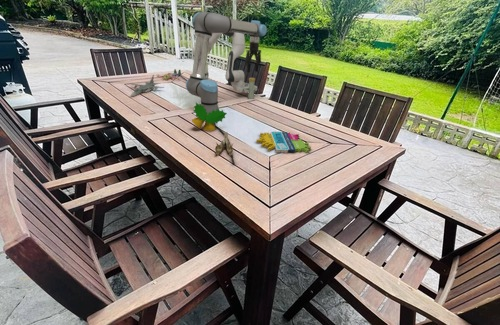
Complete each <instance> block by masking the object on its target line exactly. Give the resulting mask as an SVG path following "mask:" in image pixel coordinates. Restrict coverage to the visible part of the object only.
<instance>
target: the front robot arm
mask: <svg viewBox="0 0 500 325" xmlns="http://www.w3.org/2000/svg"><path fill="white" fill-rule="evenodd" d="M191 25H192V27H193V30H194V34H195V36H196V37H195V45H196V46H195V45H194V46H195V55H193V66H192V73H191V74H190V75H189V78H188V79H186V82H185V88H186V90H187V92H188V93H189V94H191V95H192V96H195V97H198V98H200V104H201V106H204V109H206V112H208V113H211V112H212V110H214V111H216V110H217V109H219V111H221V110H220V108H219V102H218V99H219V87H218V83H217V82H216V81H214V80H213V79H208V80H207V78H206V76H205V70H206V61H207V60H208V55H207V53H208V45H209V39H210V38H211V37H212V33H229V32H235V33H241V34H244V35H249V49H245V52H246V53H245V60H244V63H245V64H246V68H247V70H246V71H247V73H251V61H252V58H253V57H254V59H255V65H254V66H255V67H254V71H255V73H259V72H258V71H259V66H260V64H261V63H262V50H261V49H259V47H260V37H264V36H265V35H267V31H268V28H267V25H265V24H263V23H261V21H260V20H255V19H254V20H250V22H249V21H243V20H239V19H232V18H230V17H229V16H226V15H222V14H219V13H216V12H208V11H198V12H195V14H194V15H193V17H192V20H191ZM207 62H208V61H207ZM208 113H207V115H208ZM213 124H214V126H215V129H217V130H219V131H220V132H221V134H222V135H223V136H224V133H225V132H224V131H223V130H222V129H221V128H219V127H218V126H217V125H216V124H217V123H213ZM228 141H229V144H230V145H231V142H230V139H228ZM230 158H231V162H232V164H233V165H235V159H234V154H233V155H230Z"/></svg>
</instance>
